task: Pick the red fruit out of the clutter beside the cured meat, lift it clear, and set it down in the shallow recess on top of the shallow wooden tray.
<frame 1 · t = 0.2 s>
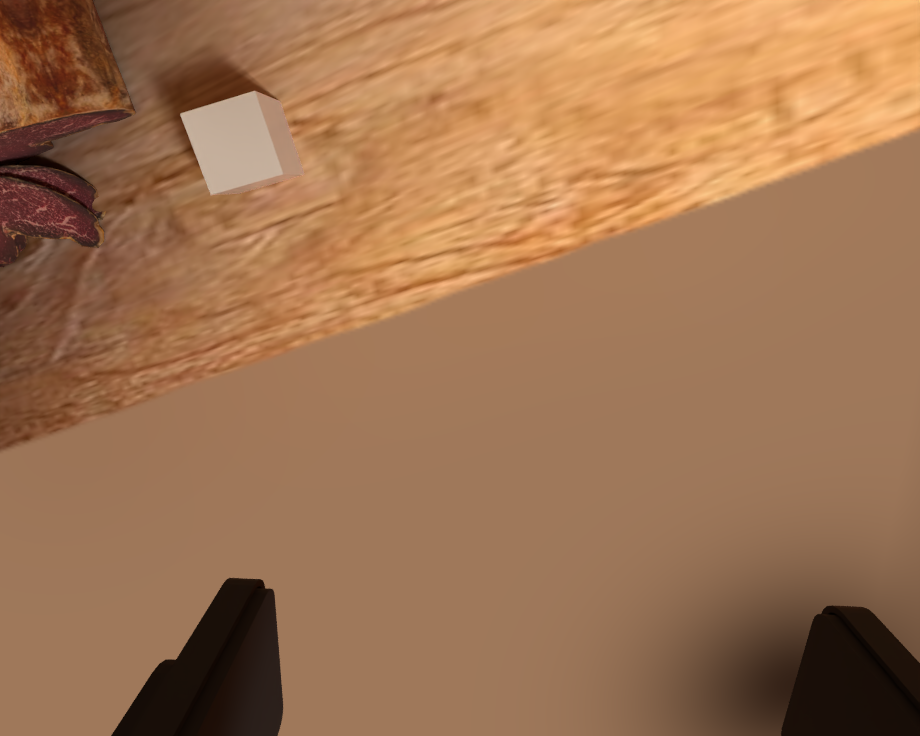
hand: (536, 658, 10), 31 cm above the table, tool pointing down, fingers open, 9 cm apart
grey ceramic cube: (260, 148, 36), on the table
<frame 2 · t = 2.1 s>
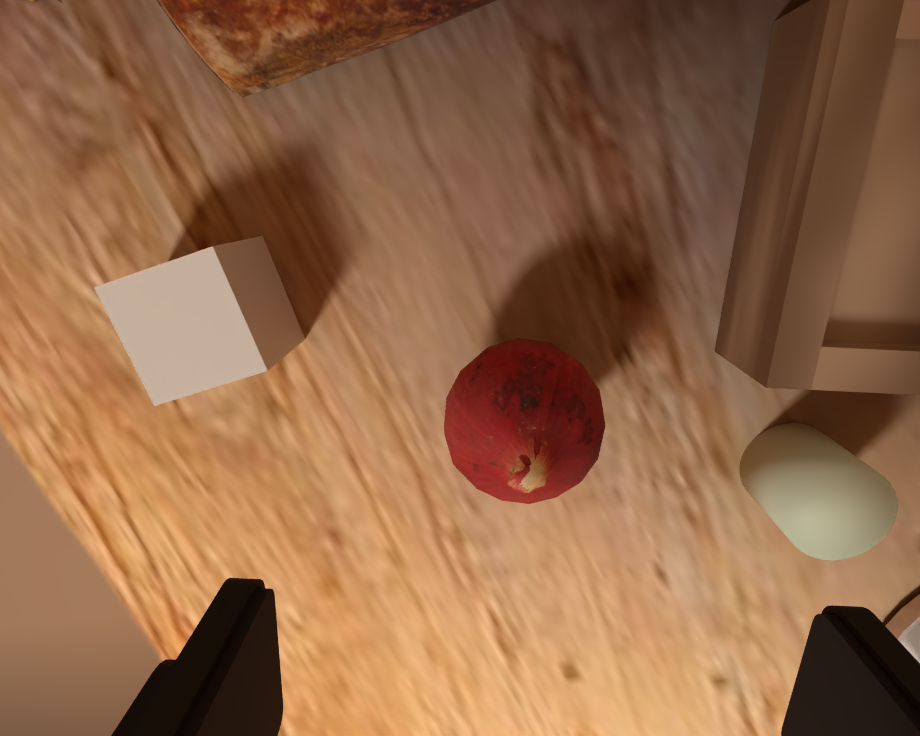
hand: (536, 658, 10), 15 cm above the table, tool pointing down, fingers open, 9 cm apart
grey ceramic cube: (236, 304, 24), on the table
sage painted capsule: (786, 464, 25), on the table
shallow wooden tray: (902, 206, 21), on the table
red fruit: (517, 385, 24), on the table
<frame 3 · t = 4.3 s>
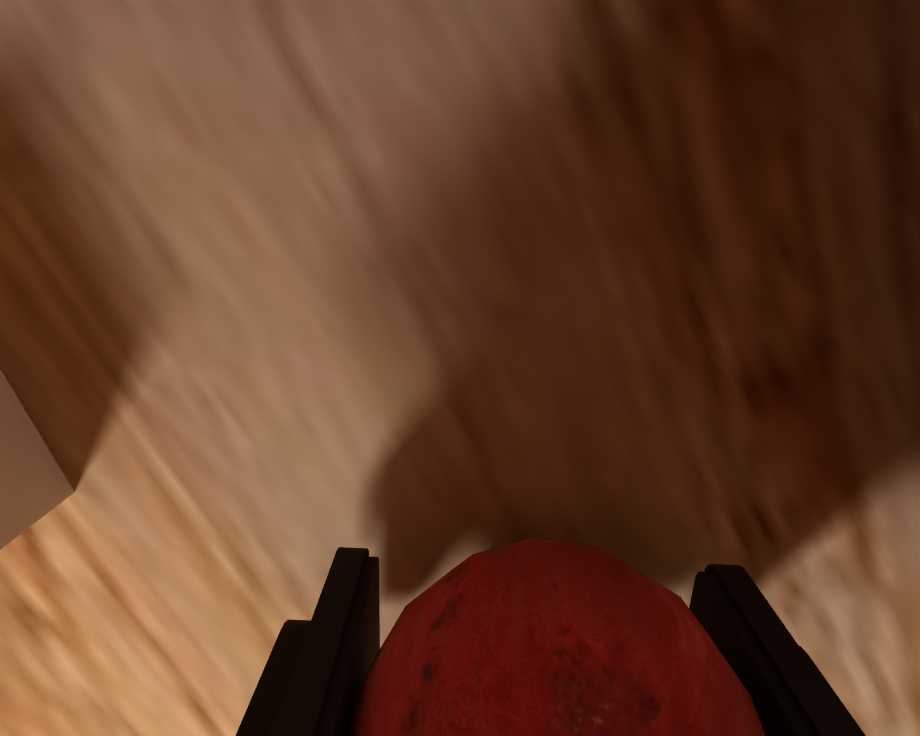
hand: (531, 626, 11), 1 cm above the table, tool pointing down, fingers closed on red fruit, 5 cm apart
red fruit: (525, 577, 12), on the table, touching gripper
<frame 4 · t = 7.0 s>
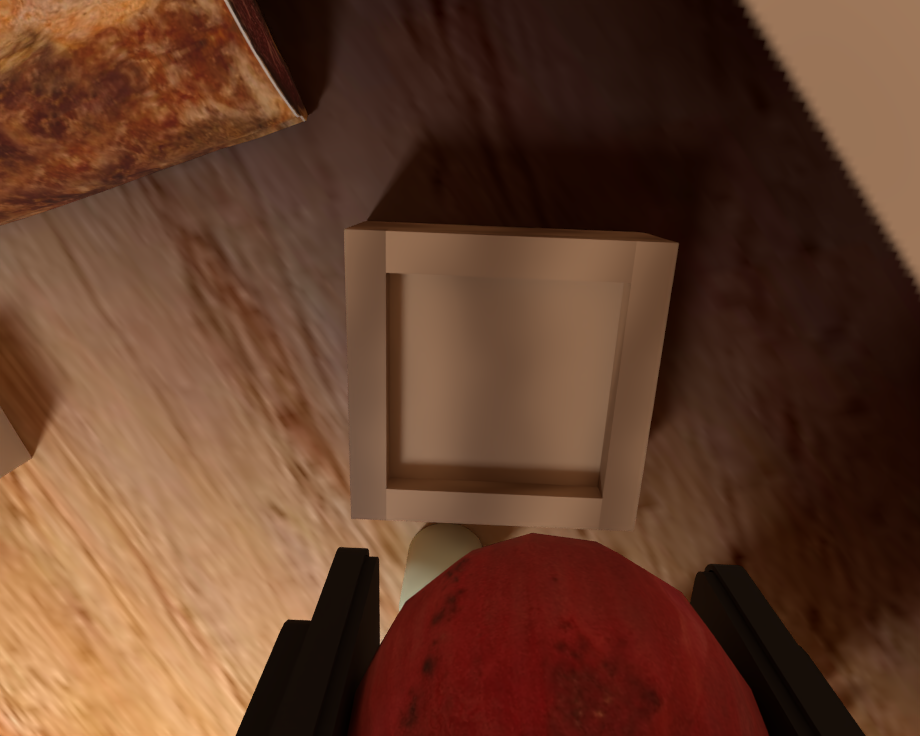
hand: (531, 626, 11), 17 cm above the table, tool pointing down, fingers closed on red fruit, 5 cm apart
sage painted capsule: (446, 555, 30), on the table
shallow wooden tray: (496, 358, 26), on the table
red fruit: (526, 573, 12), point 15 cm above the table, touching gripper
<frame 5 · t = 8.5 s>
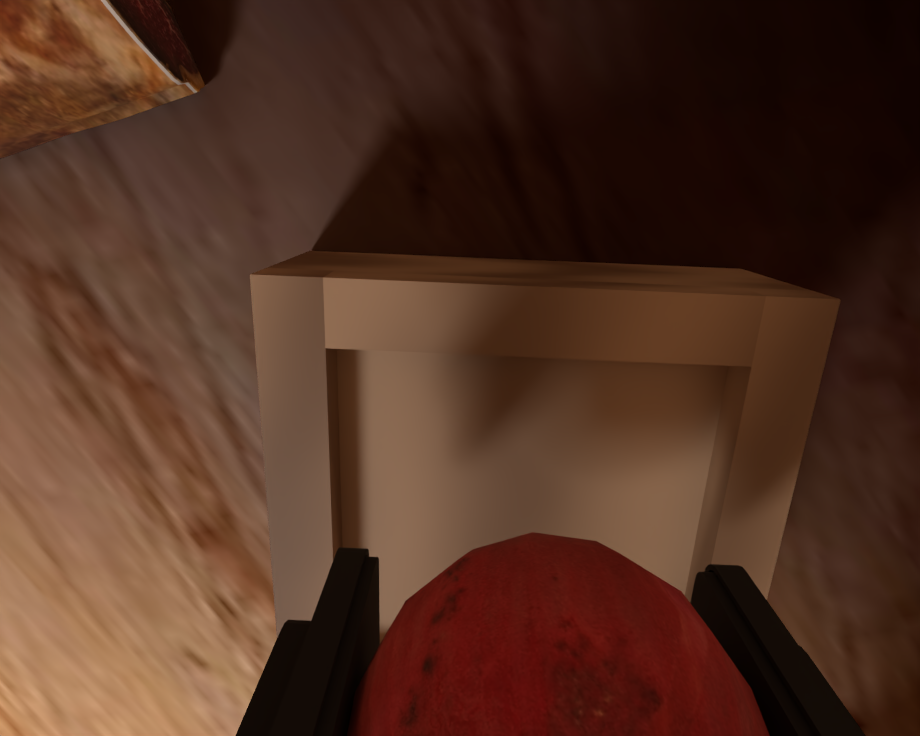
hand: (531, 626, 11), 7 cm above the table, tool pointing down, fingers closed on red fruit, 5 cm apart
shallow wooden tray: (510, 454, 18), on the table
red fruit: (526, 573, 12), point 6 cm above the table, touching gripper
when the fingers open (6 cm above the table, at t = 9.6 s): red fruit drops 1 cm, resting on shallow wooden tray.
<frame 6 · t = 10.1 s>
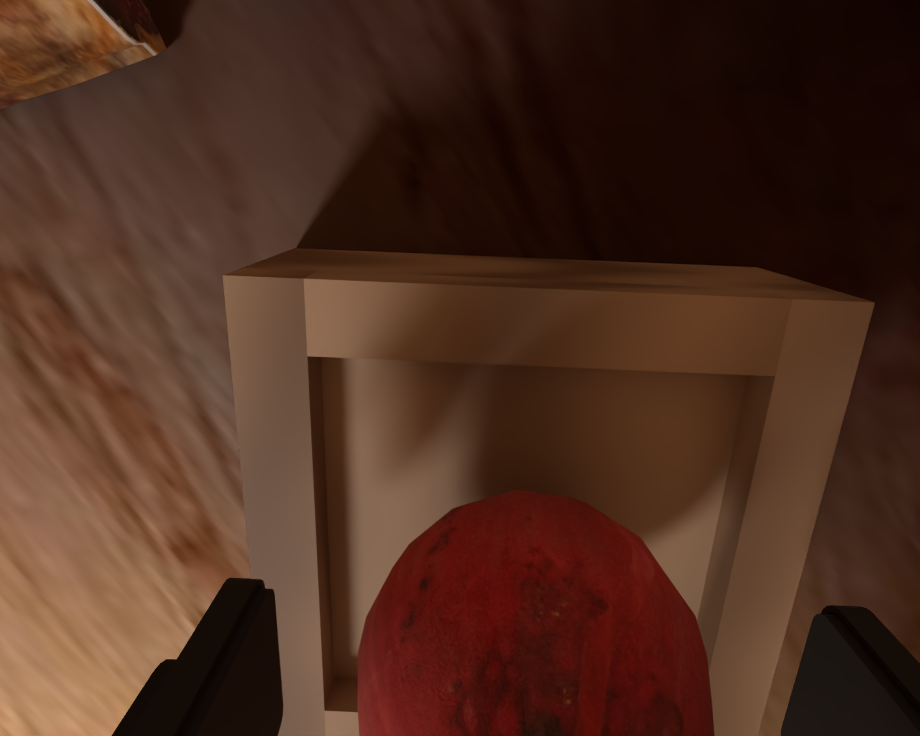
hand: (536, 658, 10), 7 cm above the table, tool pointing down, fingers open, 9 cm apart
shallow wooden tray: (510, 464, 17), on the table
red fruit: (517, 534, 13), point 3 cm above the table, touching shallow wooden tray
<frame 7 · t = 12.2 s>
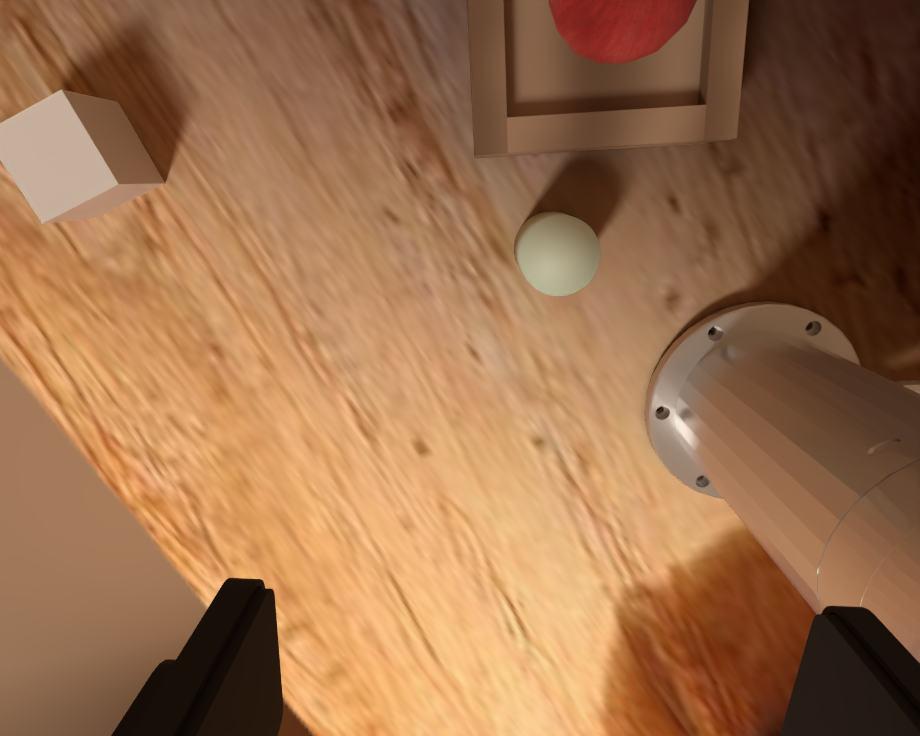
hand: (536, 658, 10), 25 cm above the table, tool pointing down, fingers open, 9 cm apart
grey ceramic cube: (108, 161, 31), on the table
sage painted capsule: (549, 247, 32), on the table
shallow wooden tray: (587, 24, 29), on the table
red fruit: (601, 6, 26), point 3 cm above the table, touching shallow wooden tray
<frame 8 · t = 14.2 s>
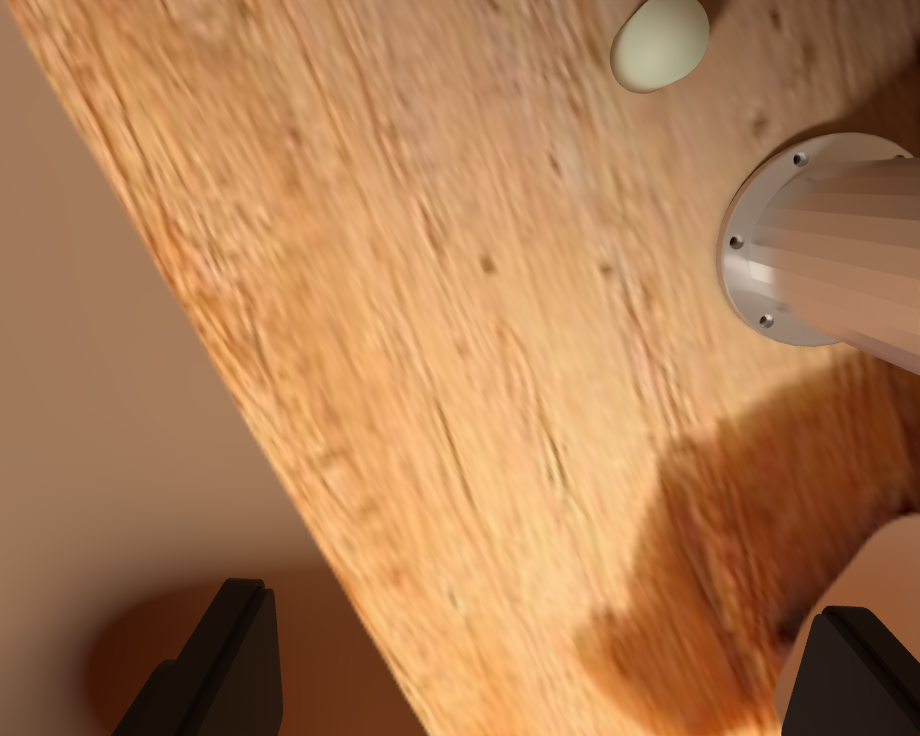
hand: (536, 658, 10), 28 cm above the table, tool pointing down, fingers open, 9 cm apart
sage painted capsule: (645, 54, 32), on the table
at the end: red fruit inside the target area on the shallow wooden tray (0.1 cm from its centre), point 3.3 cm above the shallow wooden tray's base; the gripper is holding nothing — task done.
